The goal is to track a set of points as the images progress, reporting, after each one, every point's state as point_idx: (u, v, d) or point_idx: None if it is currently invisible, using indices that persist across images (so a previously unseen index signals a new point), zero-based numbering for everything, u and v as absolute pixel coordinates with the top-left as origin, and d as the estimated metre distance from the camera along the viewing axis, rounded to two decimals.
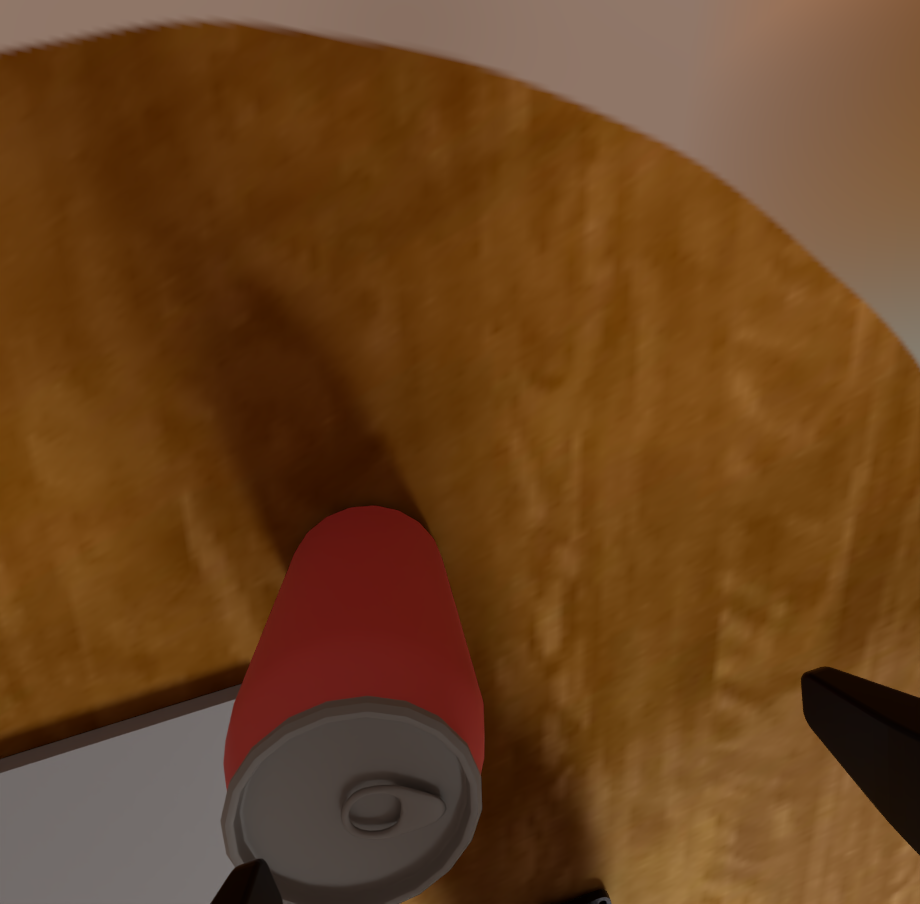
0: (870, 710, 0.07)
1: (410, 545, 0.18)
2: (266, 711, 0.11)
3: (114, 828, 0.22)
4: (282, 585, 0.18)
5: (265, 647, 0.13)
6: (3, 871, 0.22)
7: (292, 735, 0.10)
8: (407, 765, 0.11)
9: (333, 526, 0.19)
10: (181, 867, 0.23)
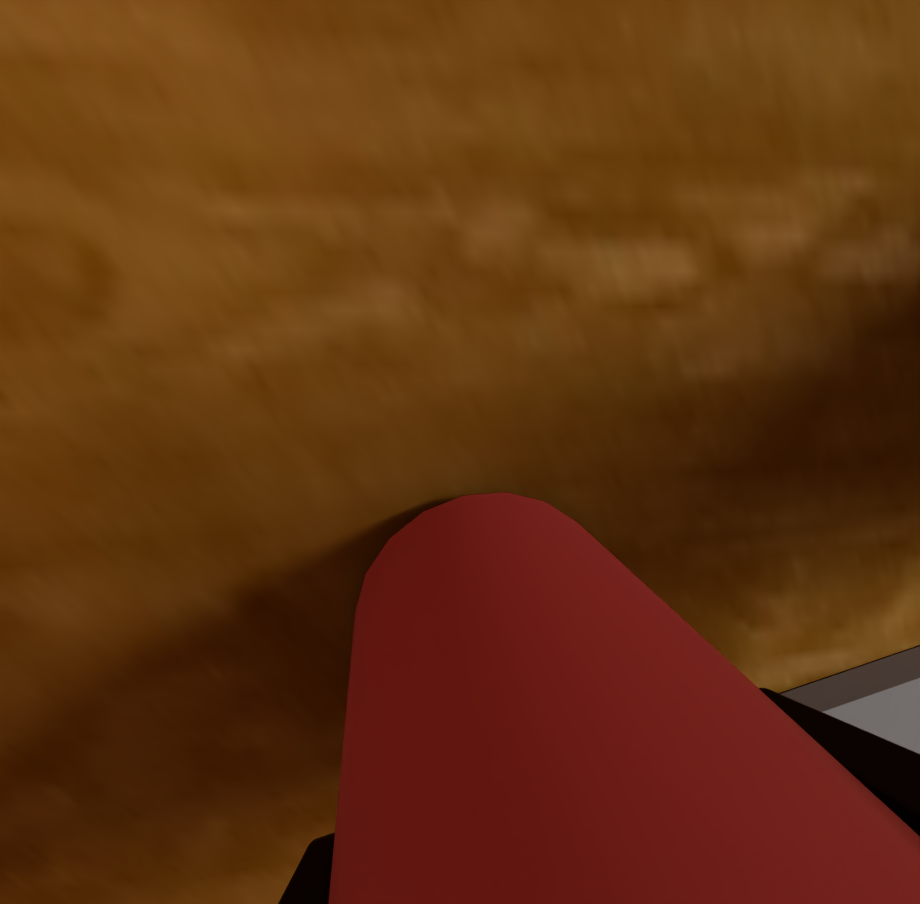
0: None
1: (372, 642, 0.09)
2: None
3: None
4: None
5: None
6: None
7: None
8: None
9: None
10: None
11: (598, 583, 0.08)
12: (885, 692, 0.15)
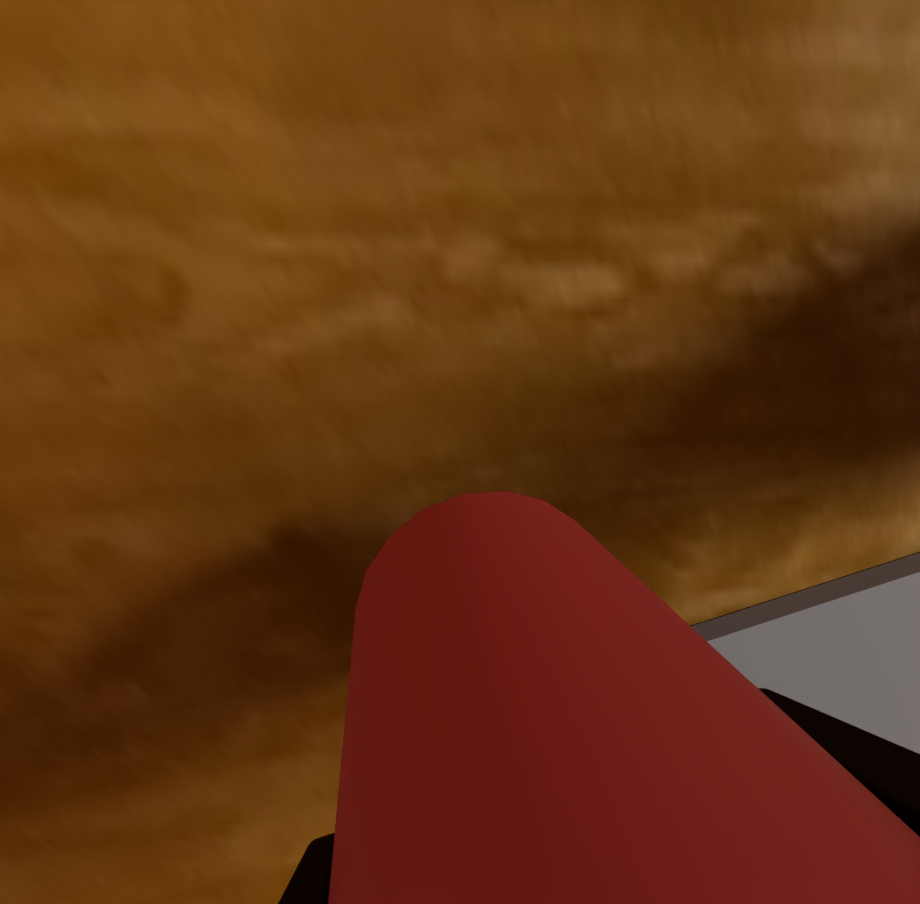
0: None
1: (372, 638, 0.09)
2: None
3: None
4: None
5: None
6: None
7: None
8: None
9: None
10: None
11: (594, 579, 0.08)
12: (782, 619, 0.19)
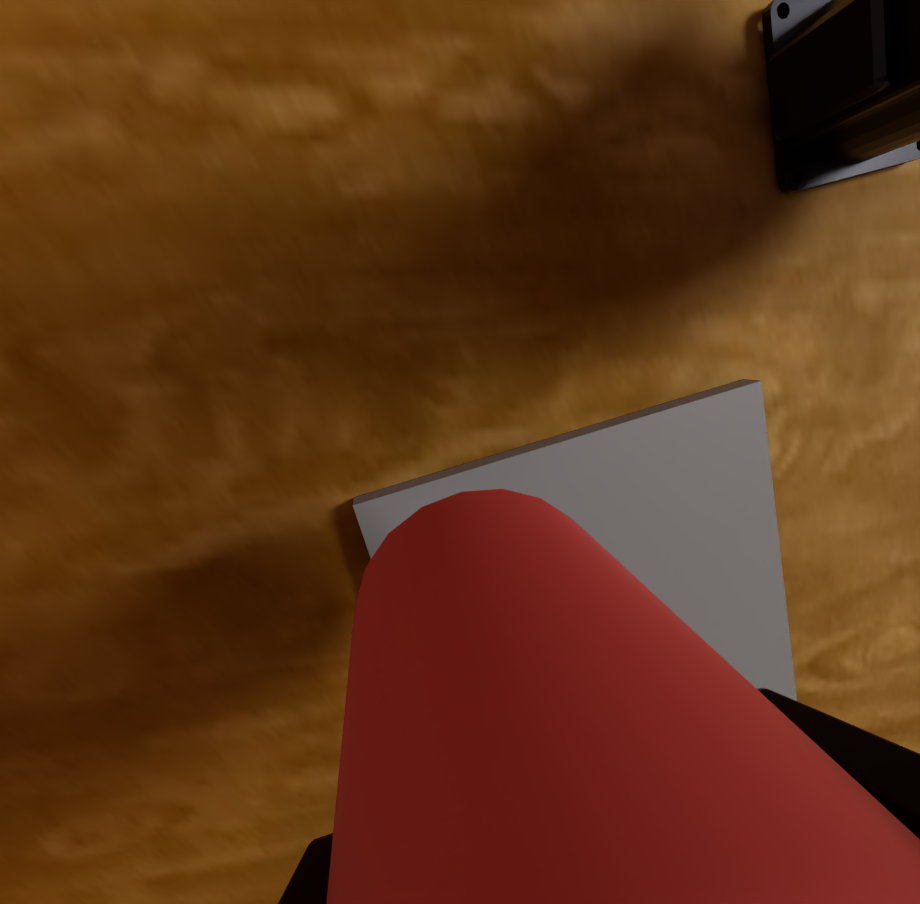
0: None
1: (371, 632, 0.09)
2: None
3: None
4: None
5: None
6: None
7: None
8: None
9: None
10: None
11: (588, 574, 0.08)
12: (540, 451, 0.19)
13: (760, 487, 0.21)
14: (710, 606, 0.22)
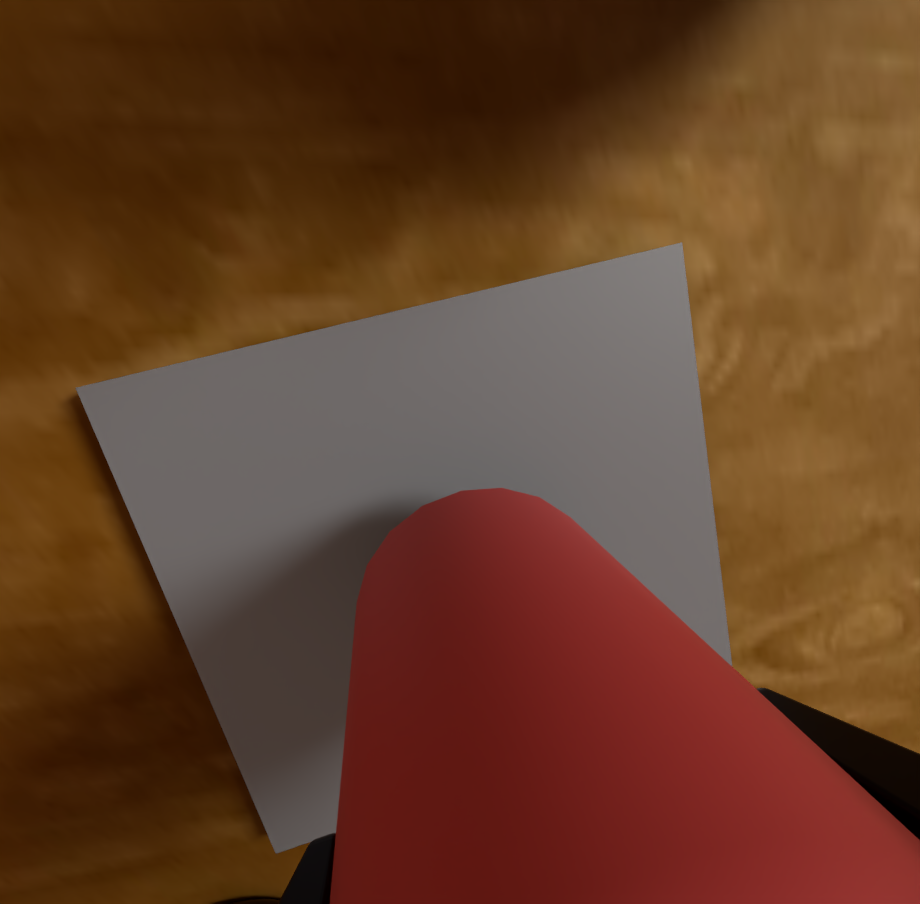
0: None
1: (373, 627, 0.09)
2: None
3: (331, 601, 0.15)
4: None
5: None
6: None
7: None
8: None
9: None
10: None
11: (585, 571, 0.08)
12: (361, 324, 0.14)
13: (682, 398, 0.15)
14: None
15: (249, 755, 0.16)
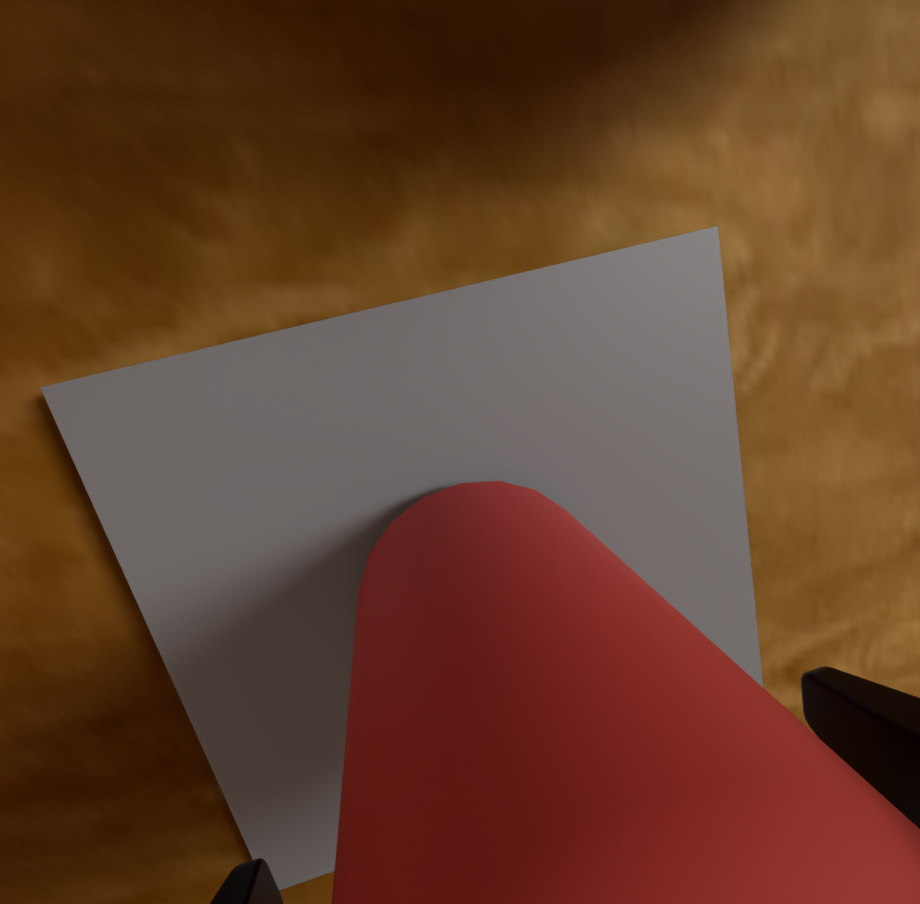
0: (870, 710, 0.07)
1: (375, 611, 0.10)
2: None
3: (328, 622, 0.14)
4: None
5: None
6: None
7: None
8: None
9: None
10: None
11: (578, 555, 0.09)
12: (361, 316, 0.12)
13: (715, 399, 0.14)
14: None
15: (238, 789, 0.14)
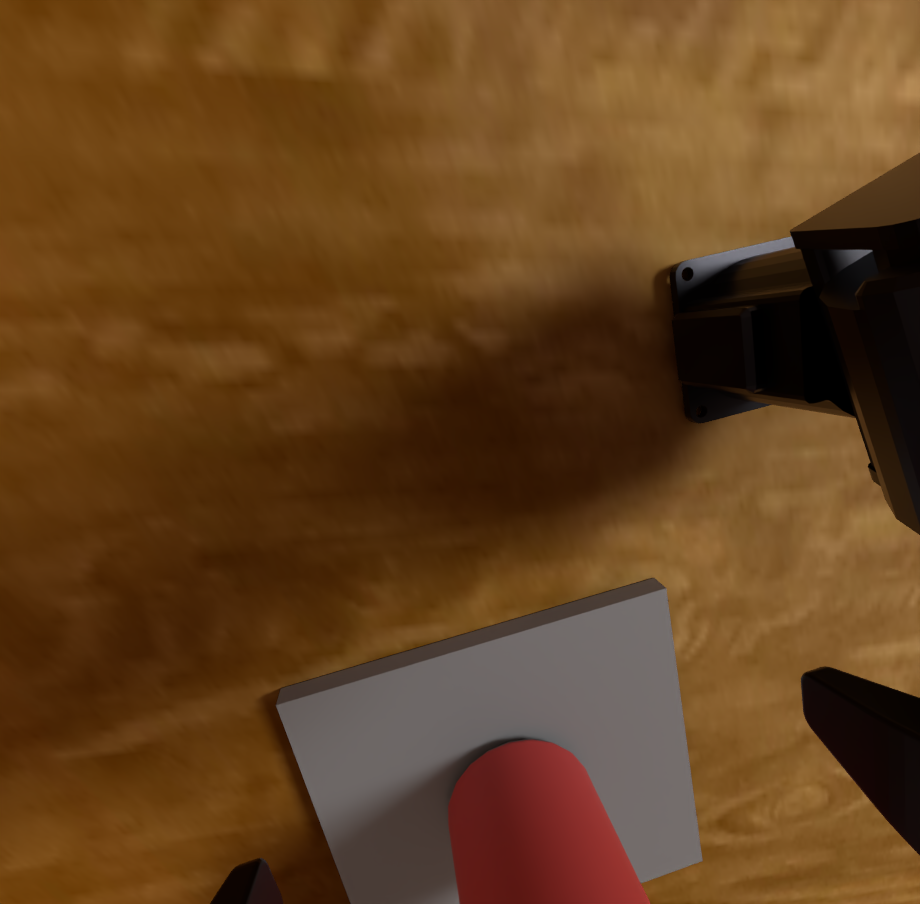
0: (870, 710, 0.07)
1: (474, 857, 0.18)
2: None
3: (426, 817, 0.22)
4: None
5: None
6: (455, 893, 0.24)
7: None
8: None
9: None
10: None
11: (581, 844, 0.17)
12: (455, 653, 0.21)
13: (666, 678, 0.23)
14: (618, 781, 0.24)
15: None
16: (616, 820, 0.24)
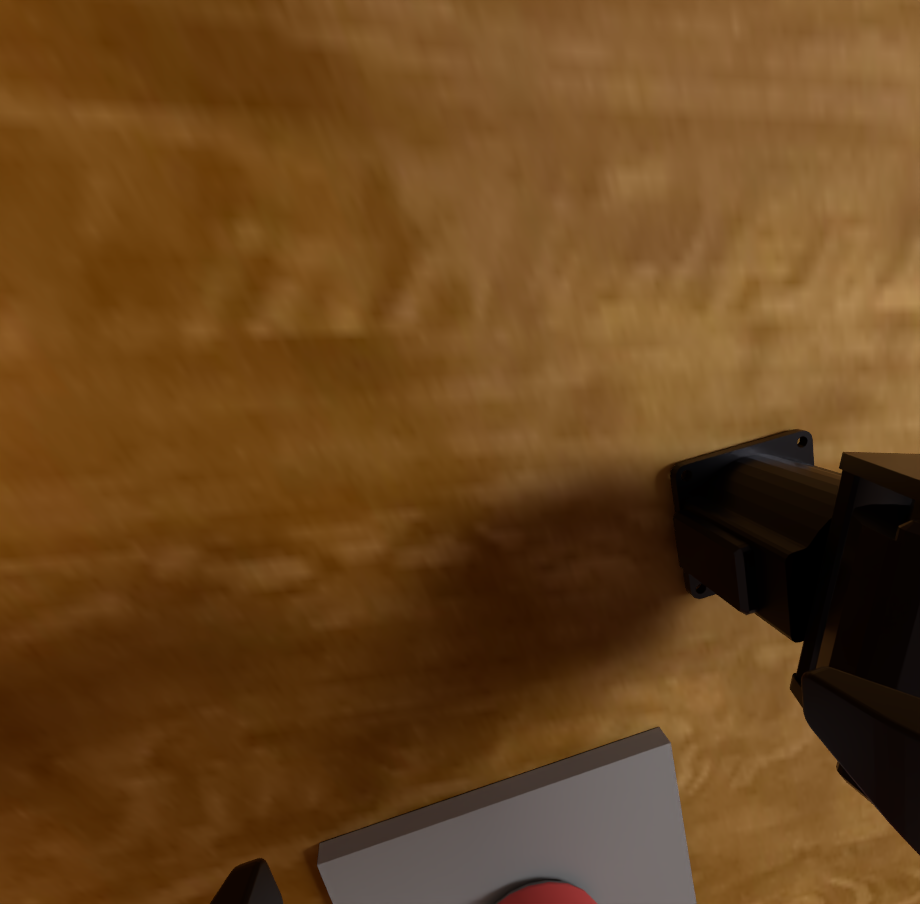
0: (870, 710, 0.07)
1: None
2: None
3: None
4: None
5: None
6: None
7: None
8: None
9: None
10: None
11: None
12: (478, 811, 0.23)
13: (671, 819, 0.25)
14: None
15: None
16: None
